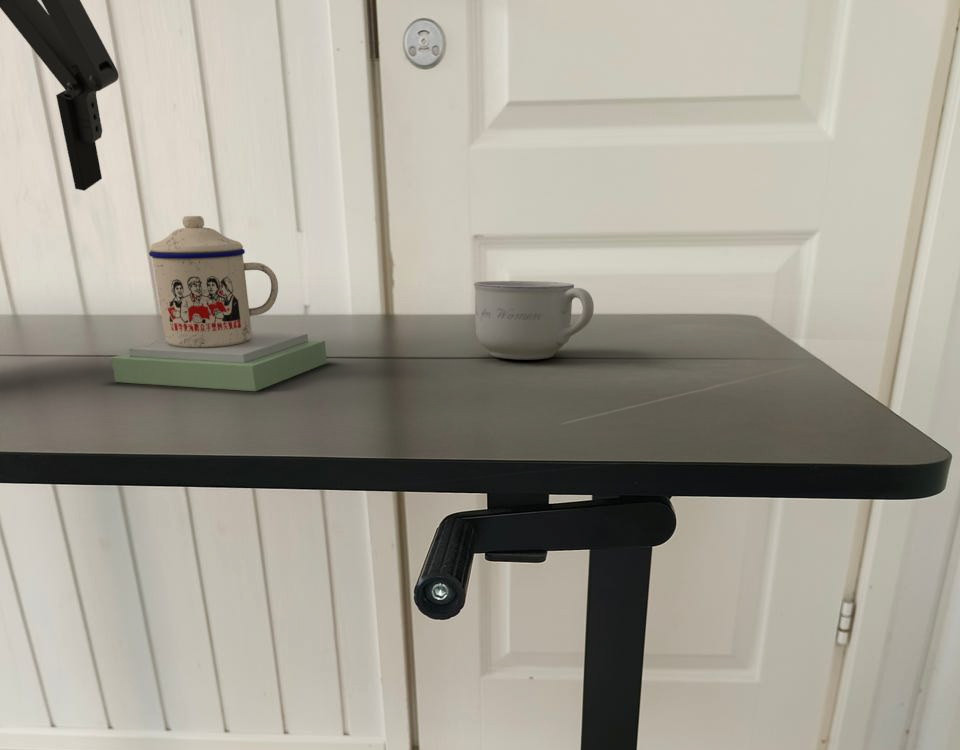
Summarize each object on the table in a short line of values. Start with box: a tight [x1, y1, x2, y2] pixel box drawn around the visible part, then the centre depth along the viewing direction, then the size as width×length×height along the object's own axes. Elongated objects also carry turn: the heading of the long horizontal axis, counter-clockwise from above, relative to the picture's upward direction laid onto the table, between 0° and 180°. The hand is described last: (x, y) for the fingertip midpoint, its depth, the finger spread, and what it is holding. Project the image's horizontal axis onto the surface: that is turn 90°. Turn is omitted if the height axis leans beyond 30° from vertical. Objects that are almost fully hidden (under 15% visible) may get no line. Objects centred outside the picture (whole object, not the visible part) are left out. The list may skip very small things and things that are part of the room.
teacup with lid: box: [148, 215, 279, 348], centre depth 91 cm, size 12×9×12 cm
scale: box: [110, 330, 328, 392], centre depth 95 cm, size 16×15×3 cm
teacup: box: [473, 280, 595, 361], centre depth 99 cm, size 14×11×8 cm
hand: (7, 167), depth 72 cm, fingers open, 13 cm apart
